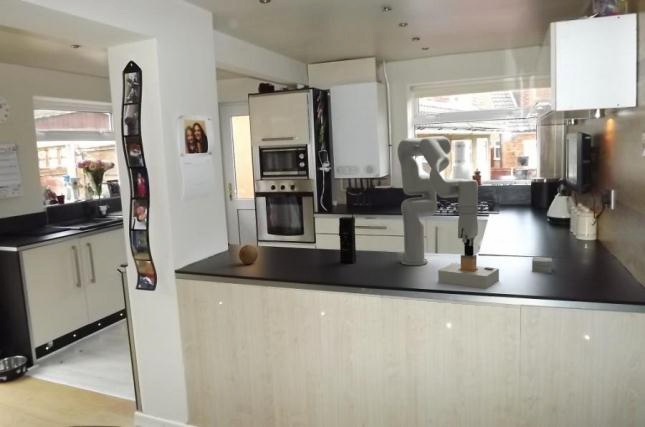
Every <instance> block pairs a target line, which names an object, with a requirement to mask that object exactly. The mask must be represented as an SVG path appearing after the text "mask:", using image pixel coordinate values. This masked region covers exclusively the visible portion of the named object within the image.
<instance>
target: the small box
mask: <svg viewBox="0 0 645 427" xmlns="http://www.w3.org/2000/svg"><path fill="white" fill-rule="evenodd" d="M531 261H532V263H531V271H532V272H531V273H546V274H547V273H548V274H551V273H552V271H553V258H552V257H538V256H537V257H536V256H535V257H534V256H533V257H532V260H531Z"/></svg>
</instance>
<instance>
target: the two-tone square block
mask: <svg viewBox="0 0 645 427" xmlns="http://www.w3.org/2000/svg"><path fill="white" fill-rule="evenodd" d="M477 258H478V257H477V254H473V255H472V256H469V255H465V254H464V253H462V254H461V255H460V264H461V270H462V271H470V272H475V271H476V266H477Z"/></svg>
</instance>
